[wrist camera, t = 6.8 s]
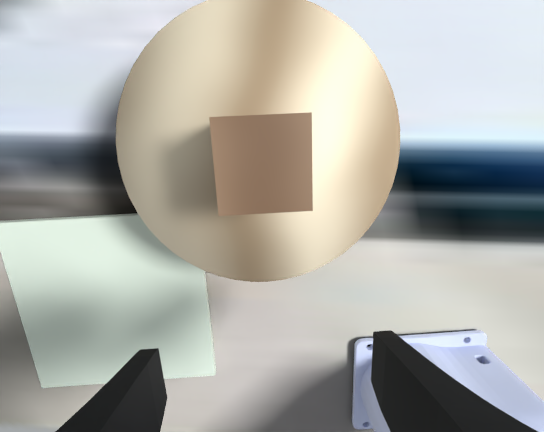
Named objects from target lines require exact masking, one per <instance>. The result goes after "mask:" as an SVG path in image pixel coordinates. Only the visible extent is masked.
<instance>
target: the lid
mask: <svg viewBox="0 0 544 432" xmlns="http://www.w3.org/2000/svg"><path fill="white" fill-rule="evenodd" d="M116 149H117V158H118V164H119V168H120V172H121V176H122V180H123V183H124V185H125V188H126V190H127V193H128V196H129V198H130V200H131V202H132V204H133V205H134V207H135V209H136V211H137V213H138V214H139V216H140V217H141V219H142V220H143V222H144V223H145V224H146V226H147V227H148V229H149V230H150V231H151V232H152V233H153V234H154V235H155V236H156V237H157V238H158V240H159V241H160V242H162V243H163V244H164V245H165V246H166V247H167V248H168V249H170V250H171V251H172V252H173V253H175V254H176V255H177V256H179V257H180V258H182V259H183V260H185V261H186V262H188V263H190V264H192V265H194V266H196V267H198V268H200V269H202V270H204V271H207V272H209V273H212V274H215V275H218V276H221V277H226V278H230V279H234V280H242V281H250V282H268V281H276V280H284V279H288V278H292V277H297V276H300V275H303V274H306V273H308V272H311V271H314V270H316V269H318V268H320V267H322V266H324V265H326V264H328V263H330V262H331V261H333V260H334V259H336V258H337V257H339V256H340V255H342V254H343V253H344V252H346V251H347V250H348V249H349V248H350V247H351V246H353V245H354V244H355V243H356V242H357V241H358V240H359V239H360V238H361V237H362V236H363V234H364V233H365V232H366V231H367V230H368V229H369V227H370V226H371V225H372V223H373V222H374V220H375V219H376V218H377V216H378V215H379V213H380V211H381V209H382V207H383V205H384V204H385V202H386V200H387V197H388V195H389V192H390V190H391V187H392V185H393V181H394V178H395V174H396V170H397V166H398V159H399V151H400V125H399V117H398V109H397V105H396V101H395V98H394V94H393V90H392V88H391V85H390V83H389V80H388V78H387V75H386V73H385V71H384V69H383V68H382V66H381V64H380V62H379V61H378V59H377V57H376V55H375V54H374V53H373V52H372V50H371V49H370V48H369V46H368V45H367V44H366V42H365V41H364V40H363V39H362V38H361V37H360V36H359V35H358V34H357V33H356V32H355V31H354V30H353V29H352V28H351V27H350V26H349V25H348V24H346V23H345V22H344V21H342V20H341V19H340V18H338V17H337V16H336V15H334V14H333V13H331V12H329V11H328V10H326V9H324V8H322V7H320V6H318V5H316V4H314V3H312V2H309V1H306V0H207V1H205V2H203V3H200V4H198V5H196V6H193V7H191V8H190V9H188V10H187V11H185V12H183V13H182V14H180V15H179V16H177V17H175V18H174V19H173V20H172V21H170V22H169V23H168V24H167V25H166V26H165V27H163V28H162V29H161V30H160V31H159V32H158V33H157V34H156V35H155V36H154V37H153V39H152V40H151V41H150V42H149V43H148V44H147V45H146V47H145V48H144V49H143V51H142V52H141V54H140V56H139V57H138V59H137V60H136V62H135V63H134V65H133V67H132V69H131V71H130V74H129V76H128V78H127V80H126V82H125V85H124V88H123V92H122V95H121V98H120V102H119V107H118V114H117V120H116Z"/></svg>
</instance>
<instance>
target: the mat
mask: <svg viewBox="0 0 544 432" xmlns="http://www.w3.org/2000/svg"><path fill="white" fill-rule="evenodd" d="M0 252H1V255H2V258H3V262H4V265H5V268H6V272H7V275H8V278H9V282H10V285H11V288H12V291H13V295H14V298H15V301H16V305H17V308H18V311H19V315H20V318H21V321H22V324H23V328H24V331H25V334H26V338H27V341H28V344H29V348H30V351H31V354H32V357H33V361H34V364H35V367H36V371H37V374H38V377H39V380H40V384H41V387H42V388H50V387H64V386H77V385H91V384H104V383H107V382H108V381H109V380H110V379H111V378H112V377H113V376H114V375H115V374H116V373H117V372H118V371H119V370H120V369H121V368H122V367H123V366H124V365H125V364H126V363H127V362H128V361H129V360H130V359H131V358H132V357H133V356H134V355H135V354H136V353H137V352H138V351H139V350H141V349H154V348H159V354H160V360H161V365H162V371H163V377H164V379H172V378H185V377H199V376H212V375H215V374H216V364H215V355H214V346H213V337H212V329H211V320H210V311H209V302H208V293H207V284H206V275H205V271H204V270H202V269H200V268H198V267H196V266H194V265H192V264H190V263H188V262H186V261H185V260H183V259H182V258H180V257H179V256H177V255H176V254H175V253H173V252H172V251H171V250H170V249H168V248H167V247H166V246H165V245H164V244H163V243H162V242H160V241H159V240H158V238H157V237H156V236H155V235H154V234H153V233H152V232H151V231H150V230H149V229H148V227H147V226H146V224H145V223H144V222H143V220H142V219H141V217H140V216H139V214H138V213H134V214H116V215H98V216H80V217H62V218H43V219H25V220H7V221H0Z"/></svg>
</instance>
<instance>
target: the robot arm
mask: <svg viewBox="0 0 544 432" xmlns="http://www.w3.org/2000/svg"><path fill="white" fill-rule="evenodd" d="M466 337H467V338H466ZM465 338H466V339H465ZM486 342H487V335H486V334H485V333H484V332H483V331H481V330H474V331H460V332H446V333H432V334H418V335H404V336H398V335H396V334H395V333H394V332H392V331H379V332H373V338H362V339H358V340H357V341H356V342H355V346H354V376H353V406H352V424H353V427H354V428H355V429H359V430H361V429H373V430H374V432H544V401H543V400H542V399H541V398H540V397H539V396H538V395H537V394H536V393H535V392H533V391H532V390H531V389H530V388H529V387H528V386H527V385H526V384H525V383H524V382H523V381H522V380H521V379H520V378H519V377H518V376H517V375H516V374H515V373H514V372H513V371H512V370H511V369H510V368H509V367H508V366H506V365H505V364H504V363H503V362H502V361H501V360H500V359H499V358H498V357H497V356H496V355H495V354H494V353H493V352H492V351H491V350H490V349H489V348H488V347H487V346H486ZM369 344H371V346H369V347H367V345H369ZM166 401H167V394H166V388H165V383H164V377H163V371H162V365H161V360H160V354H159V348H154V349H141V350H139V351H138V352H137V353H136V354H135V355H134V356H133V357H132V358H131V359H130V360H129V361H128V362H127V363H126V364H125V365H124V366H123V367H122V368H121V369H120V370H119V371H118V372H117V373H116V374H115V375H114V376H113V377H112V378H111V379H110V380H109V381H108V382H107V383H106V384H105V385H104V386H103V387H102V388H101V389H100V390H99V391H98V392H97V393H96V394H95V395H94V396H93V397H92V398H91V399H90V400H89V401H88V402H87V403H86V404H85V405H84V406H83V407H82V408H81V409H80V410H79V411H78V412H76V413H75V414H74V415H73V416H72V417H71V418H70V419H69V420H68V421H67V422H66V423H65V424H64V425H62V426H61V427H60V428H59V429H58V430H57V431H56V432H160V429H161V425H162V420H163V416H164V411H165V406H166ZM364 422H365V423H364Z"/></svg>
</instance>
